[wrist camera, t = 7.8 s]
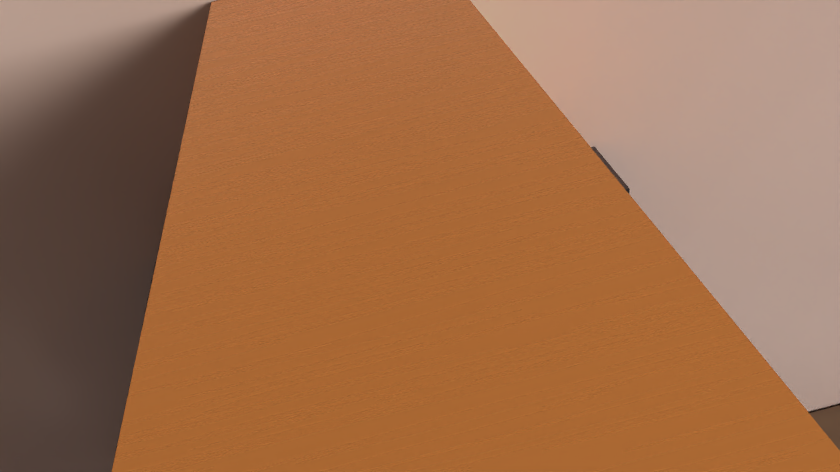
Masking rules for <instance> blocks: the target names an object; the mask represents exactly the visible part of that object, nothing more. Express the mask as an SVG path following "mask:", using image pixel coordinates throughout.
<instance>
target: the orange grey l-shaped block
mask: <svg viewBox="0 0 840 472" xmlns="http://www.w3.org/2000/svg"><path fill="white" fill-rule="evenodd" d="M145 312H146V313H145V317H144V322H143V327H142V331H141V336H140V341H139V346H138V350H137V355H136V360H135V364H134V369H133V374H132V378H131V383H130V388H129V393H128V397H127V402H126V407H125V411H124V416H123V421H122V426H121V430H120V435H119V440H118V444H117V449H116V454H115V459H114V463H113V468H112V472H840V450H839V449H838V448H837V447H836V445H835V444H834V443H833V442H832V441H831V439H830V438H829V437H828V436H827V434H826V433H825V432H824V431H823V430H822V428H821V427H820V426H819V425H818V423H817V422H816V421H815V420H814V419H813V417H812V416H811V415H810V414H809V413H808V411H807V410H806V409H805V408H804V406H803V405H802V404H801V403H800V402H799V400H798V399H797V398H796V397H795V396H794V394H793V393H792V392H791V391H790V389H789V388H788V387H787V386H786V385H785V383H784V382H783V381H782V380H781V378H780V377H779V376H778V375H777V374H776V372H775V371H774V370H773V369H772V368H771V366H770V365H769V364H768V363H767V361H766V360H765V359H764V358H763V357H762V355H761V354H760V353H759V352H758V350H757V349H756V348H755V347H754V346H753V344H752V343H751V342H750V341H749V340H748V338H747V337H746V336H745V335H744V333H743V332H742V331H741V330H740V329H739V327H738V326H737V325H736V324H735V322H734V321H733V320H732V319H731V318H730V316H729V315H728V314H727V313H726V312H725V310H724V309H723V308H722V307H721V305H720V304H719V303H718V302H717V301H716V299H715V298H714V297H713V296H712V294H711V293H710V292H709V291H708V290H707V288H706V287H705V286H704V285H703V284H702V282H701V281H700V280H699V279H698V277H697V276H696V275H695V274H694V273H693V271H692V270H691V269H690V268H689V267H688V265H687V264H686V263H685V262H684V260H683V259H682V258H681V257H680V256H679V254H678V253H677V252H676V251H675V249H674V248H673V247H672V246H671V245H670V243H669V242H668V241H667V240H666V239H665V237H664V236H663V235H662V234H661V232H660V231H659V230H658V229H657V228H656V226H655V225H654V224H653V223H652V221H651V220H650V219H649V218H648V217H647V215H646V214H645V213H644V212H643V211H642V209H641V208H640V207H639V206H638V204H637V203H636V202H635V201H634V200H633V198H632V197H631V196H630V195H629V188H628V186H627V185H626V184H625V183H624V182H623V180H622V179H621V178H620V177H619V176H618V174H617V173H616V172H615V171H614V170H613V168H612V167H611V166H610V165H609V164H608V162H607V161H606V160H605V159H604V158H603V156H602V155H601V154H600V153H599V152H598V150H597V149H596V148H595V147H590V146H589V145H588V144H587V142H586V141H585V140H584V139H583V137H582V136H581V135H580V134H579V133H578V131H577V130H576V129H575V128H574V127H573V125H572V124H571V123H570V122H569V120H568V119H567V118H566V117H565V116H564V114H563V113H562V112H561V111H560V110H559V108H558V107H557V106H556V105H555V103H554V102H553V101H552V100H551V99H550V97H549V96H548V95H547V94H546V92H545V91H544V90H543V89H542V88H541V86H540V85H539V84H538V83H537V82H536V80H535V79H534V78H533V77H532V75H531V74H530V73H529V72H528V71H527V69H526V68H525V67H524V66H523V64H522V63H521V62H520V61H519V60H518V58H517V57H516V56H515V55H514V54H513V52H512V51H511V50H510V49H509V47H508V46H507V45H506V44H505V43H504V41H503V40H502V39H501V38H500V36H499V35H498V34H497V33H496V32H495V30H494V29H493V28H492V27H491V26H490V24H489V23H488V22H487V21H486V19H485V18H484V17H483V16H482V15H481V13H480V12H479V11H478V10H477V8H476V7H475V6H474V5H473V4H472V2H471V1H470V0H218V1H214V2H211V7H210V11H209V16H208V21H207V25H206V30H205V35H204V40H203V44H202V49H201V54H200V58H199V63H198V68H197V73H196V77H195V82H194V87H193V91H192V96H191V101H190V105H189V110H188V115H187V120H186V124H185V129H184V134H183V138H182V143H181V148H180V153H179V157H178V162H177V167H176V171H175V176H174V181H173V185H172V190H171V195H170V200H169V204H168V209H167V214H166V218H165V223H164V228H163V233H162V237H161V242H160V247H159V251H158V256H157V258H156V263H155V268H154V273H153V277H152V282H151V287H150V291H149V296H148V301H147V305H146V310H145Z"/></svg>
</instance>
